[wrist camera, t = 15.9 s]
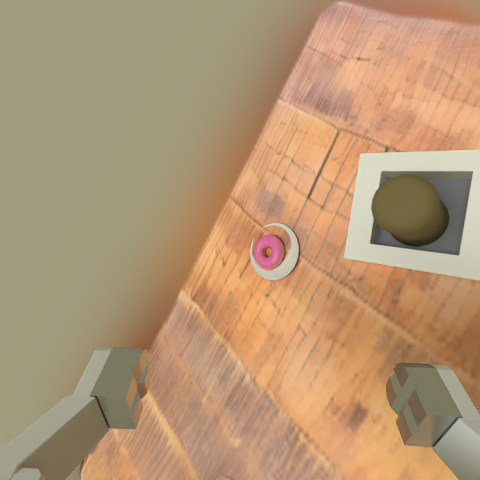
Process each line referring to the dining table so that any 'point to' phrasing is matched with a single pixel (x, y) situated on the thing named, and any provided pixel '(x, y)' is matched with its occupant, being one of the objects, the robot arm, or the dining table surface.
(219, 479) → the cylindrical container
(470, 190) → the socket rail
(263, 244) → the donut
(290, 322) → the dining table surface
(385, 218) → the olive knobbed peg
